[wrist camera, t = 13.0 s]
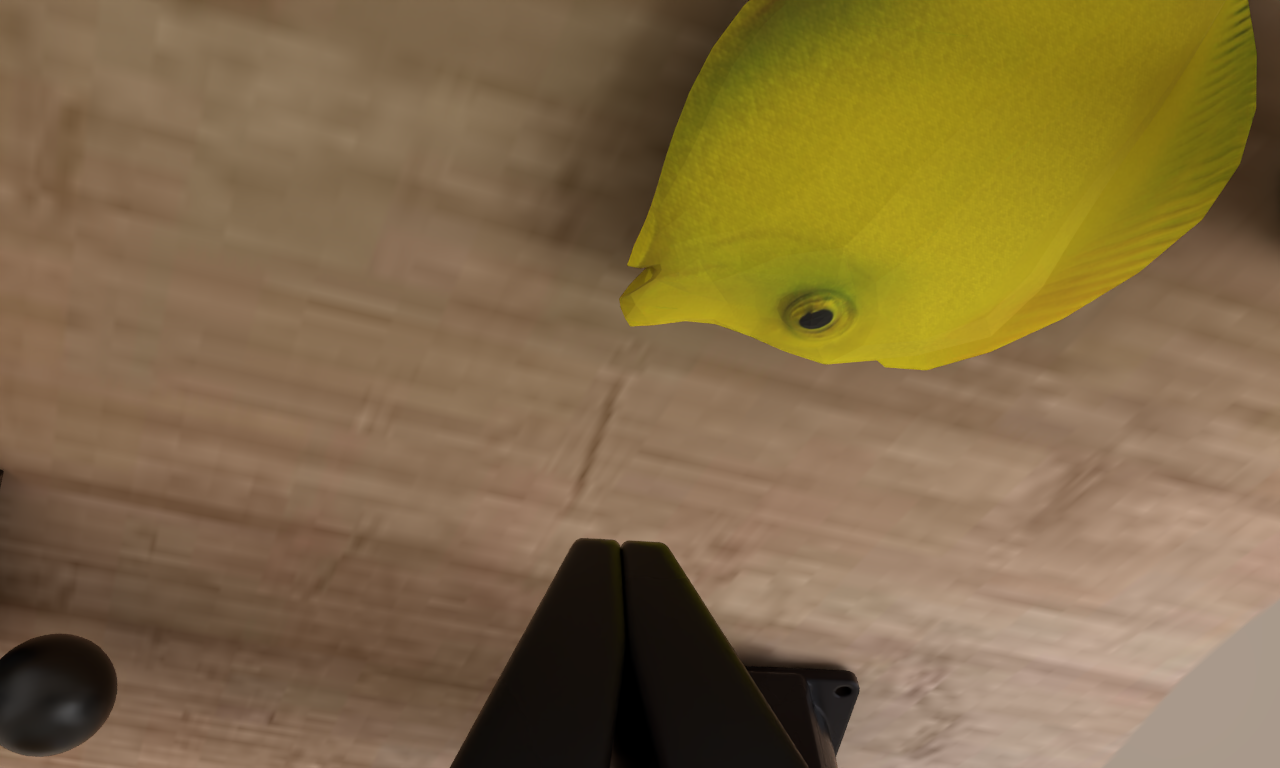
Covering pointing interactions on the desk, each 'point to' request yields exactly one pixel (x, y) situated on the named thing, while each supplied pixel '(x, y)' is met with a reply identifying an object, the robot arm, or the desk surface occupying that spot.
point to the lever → (54, 694)
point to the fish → (938, 168)
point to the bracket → (0, 475)
